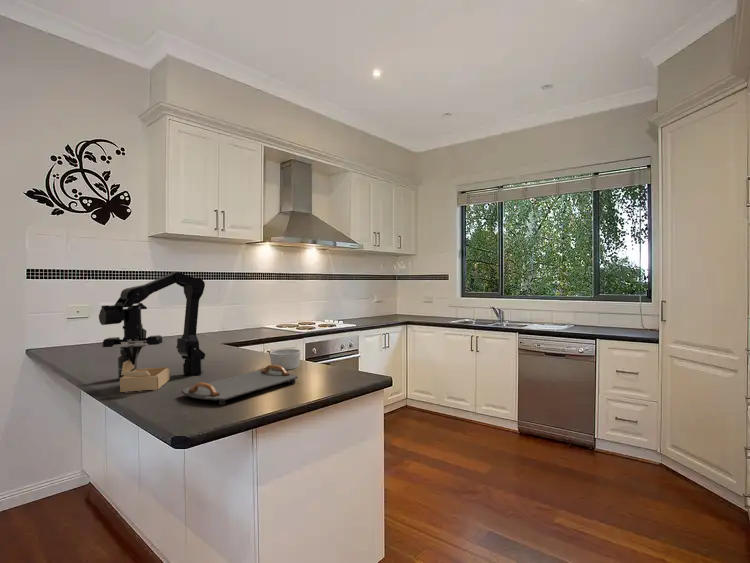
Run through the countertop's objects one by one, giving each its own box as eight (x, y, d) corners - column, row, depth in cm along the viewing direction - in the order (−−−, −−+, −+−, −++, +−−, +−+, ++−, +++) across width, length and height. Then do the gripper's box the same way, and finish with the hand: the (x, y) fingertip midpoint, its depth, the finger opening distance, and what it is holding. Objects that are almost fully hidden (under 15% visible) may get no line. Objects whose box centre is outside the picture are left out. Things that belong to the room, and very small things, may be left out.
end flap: (150, 374, 157) (146, 370, 153) (150, 375, 157) (146, 371, 153) (125, 375, 156) (121, 371, 152) (125, 377, 156) (121, 372, 152)
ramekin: (294, 371, 184) (293, 354, 184) (264, 370, 186) (264, 354, 186) (305, 364, 197) (305, 348, 197) (277, 364, 199) (277, 348, 199)
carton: (170, 379, 174) (170, 366, 174) (158, 390, 158) (157, 376, 158) (136, 381, 172) (135, 369, 172) (120, 392, 156) (119, 378, 156)
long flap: (134, 368, 169) (135, 356, 169) (122, 375, 158) (124, 362, 158) (133, 368, 169) (134, 356, 169) (121, 375, 157) (123, 362, 158)
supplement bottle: (115, 381, 174) (114, 350, 174) (120, 377, 181) (119, 347, 180) (135, 379, 176) (134, 349, 176) (139, 375, 182) (138, 346, 182)
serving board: (262, 376, 178) (261, 360, 178) (305, 382, 165) (304, 365, 165) (172, 400, 146) (171, 381, 146) (216, 410, 133) (216, 390, 133)
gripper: (165, 319, 173) (166, 359, 173) (113, 321, 170) (114, 362, 170) (157, 321, 162) (158, 364, 162) (101, 324, 159) (102, 367, 159)
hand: (133, 364), depth 164 cm, fingers closed
